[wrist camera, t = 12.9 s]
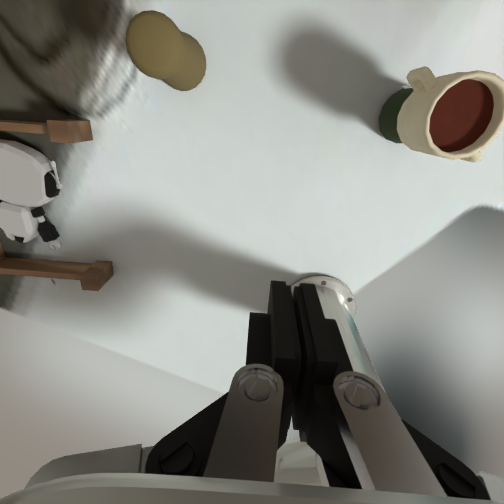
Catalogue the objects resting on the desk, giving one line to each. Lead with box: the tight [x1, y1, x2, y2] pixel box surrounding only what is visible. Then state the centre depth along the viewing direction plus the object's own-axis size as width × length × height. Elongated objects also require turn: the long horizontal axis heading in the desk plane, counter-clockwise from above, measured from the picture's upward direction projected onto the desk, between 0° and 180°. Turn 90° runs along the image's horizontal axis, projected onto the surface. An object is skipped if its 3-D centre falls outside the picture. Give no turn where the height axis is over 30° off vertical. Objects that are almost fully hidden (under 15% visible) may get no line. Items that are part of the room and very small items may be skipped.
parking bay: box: [0, 119, 114, 291], centre depth 41 cm, size 23×19×5 cm
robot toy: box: [0, 139, 62, 249], centre depth 41 cm, size 12×4×15 cm
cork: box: [126, 10, 206, 91], centre depth 30 cm, size 6×6×11 cm
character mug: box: [379, 67, 504, 162], centre depth 31 cm, size 11×7×13 cm, turn 44°
